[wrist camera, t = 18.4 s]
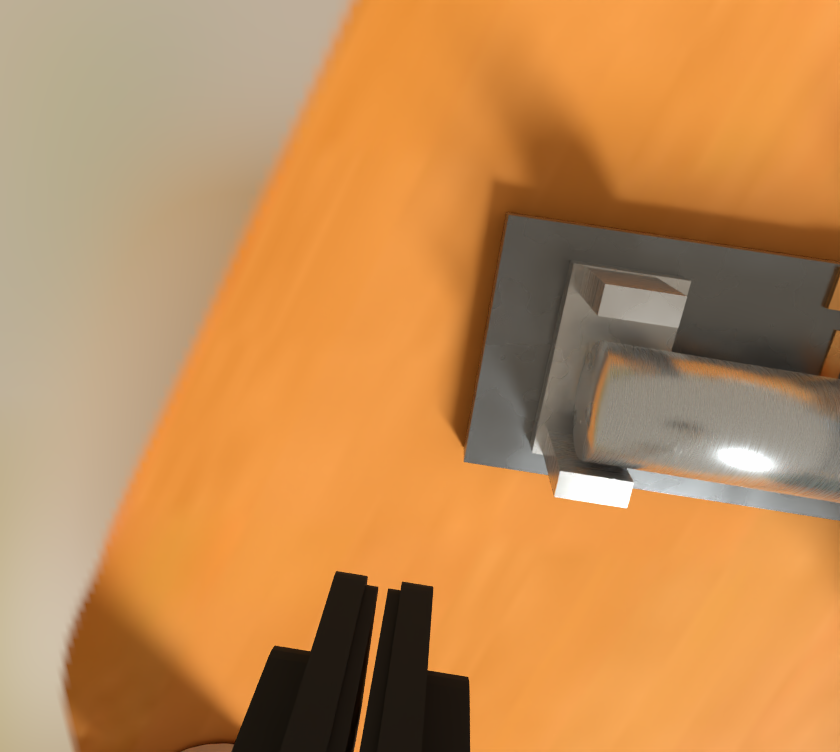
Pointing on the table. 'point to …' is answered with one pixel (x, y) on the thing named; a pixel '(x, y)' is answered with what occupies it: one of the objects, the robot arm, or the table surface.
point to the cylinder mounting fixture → (635, 341)
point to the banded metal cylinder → (709, 420)
